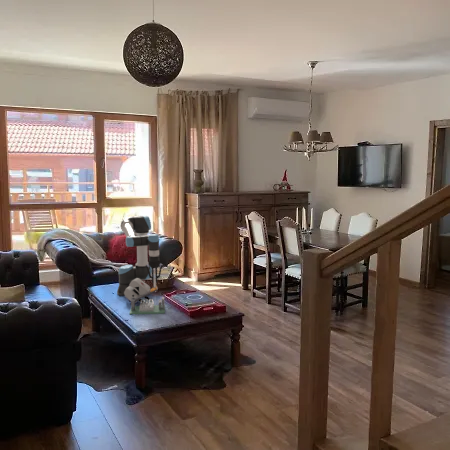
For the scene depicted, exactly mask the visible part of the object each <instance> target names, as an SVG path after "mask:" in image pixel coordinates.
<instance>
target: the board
mask: <svg viewBox="0 0 450 450" xmlns="http://www.w3.org/2000/svg"><path fill="white" fill-rule="evenodd" d="M165 309H166V304H164V310H159V304H158V305H157V304H154V311H148V312H140V305H135V310H134V311H131V308H130V310H129V315H131V314H135V315H158V314H165V311H166V310H165Z"/></svg>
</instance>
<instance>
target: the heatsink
mask: <svg viewBox="0 0 450 450" xmlns="http://www.w3.org/2000/svg"><path fill="white" fill-rule="evenodd" d="M150 299H151V298H150ZM150 299H149V301H148V299H145V298H143V299H142V300H143V301H144V302H143V303H142V300H141V302H139V303H140V304H139V306H140V312H148V311H154V305H155V302H154V299H153V298H152V299H151V300H152V302H150ZM145 302H146V303H145Z"/></svg>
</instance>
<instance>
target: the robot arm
mask: <svg viewBox="0 0 450 450" xmlns="http://www.w3.org/2000/svg"><path fill="white" fill-rule="evenodd" d="M120 229H121V231H122V232H123V233H124V235H125V245H126V247H127V248H129V247H130V248H133V247H136V263H135V266H133V264H126V265H122V266H120V267H118V273H117V274H118V287H117V291H116V294H117V295H118V296H120V297H121V296H122V297H125V295H124V291H125V289H126V288H127V287H129V284H130V283H131V281H133V280H134V279H136V278H139V279H141V280H142V281H145V280H149V279H151V283H152V284H153V288H156V286H157V284H158V279H159V278H160V277H161V274H162V268H163V266H164V264H162V263H161V262H160V236H159V234H157V233H152V234H149V233H150V230H152V222H151V219H150V217H149V216H148V215H135V216H132V215H131V216H130V215H129V216H127V217H125V218H124V219H123V220H122V221H121V223H120ZM148 255H149V256H148ZM158 267H159V271H158ZM154 269H155V270H154ZM154 271H155V273H154Z"/></svg>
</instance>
